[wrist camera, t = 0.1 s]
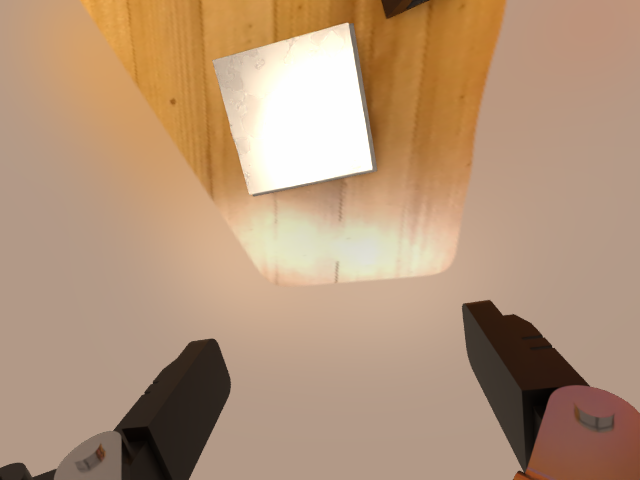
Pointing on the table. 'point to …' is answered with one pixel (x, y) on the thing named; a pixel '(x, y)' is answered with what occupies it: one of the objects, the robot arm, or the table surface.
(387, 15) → the phone stand
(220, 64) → the pan
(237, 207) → the table surface
